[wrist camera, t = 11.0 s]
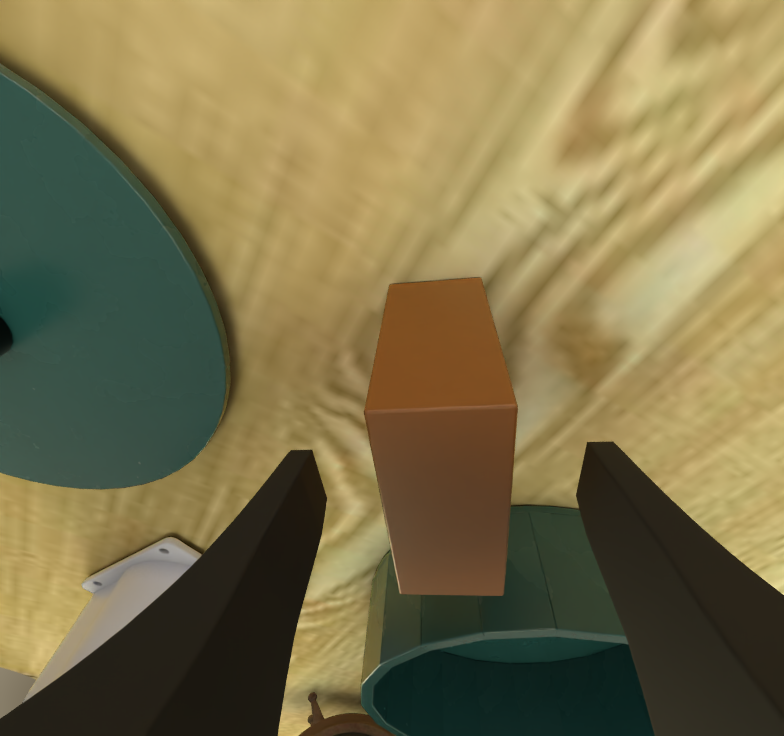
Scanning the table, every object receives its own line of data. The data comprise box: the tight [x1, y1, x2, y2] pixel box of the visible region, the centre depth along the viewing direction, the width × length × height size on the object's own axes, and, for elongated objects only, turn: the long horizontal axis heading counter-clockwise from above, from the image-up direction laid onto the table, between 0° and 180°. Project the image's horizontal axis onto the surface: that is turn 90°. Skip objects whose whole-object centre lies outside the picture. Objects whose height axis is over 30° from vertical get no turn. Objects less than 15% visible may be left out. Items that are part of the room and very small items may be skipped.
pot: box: [361, 506, 655, 736], centre depth 22 cm, size 17×17×5 cm
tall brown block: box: [364, 278, 518, 596], centre depth 13 cm, size 3×7×6 cm, turn 6°
